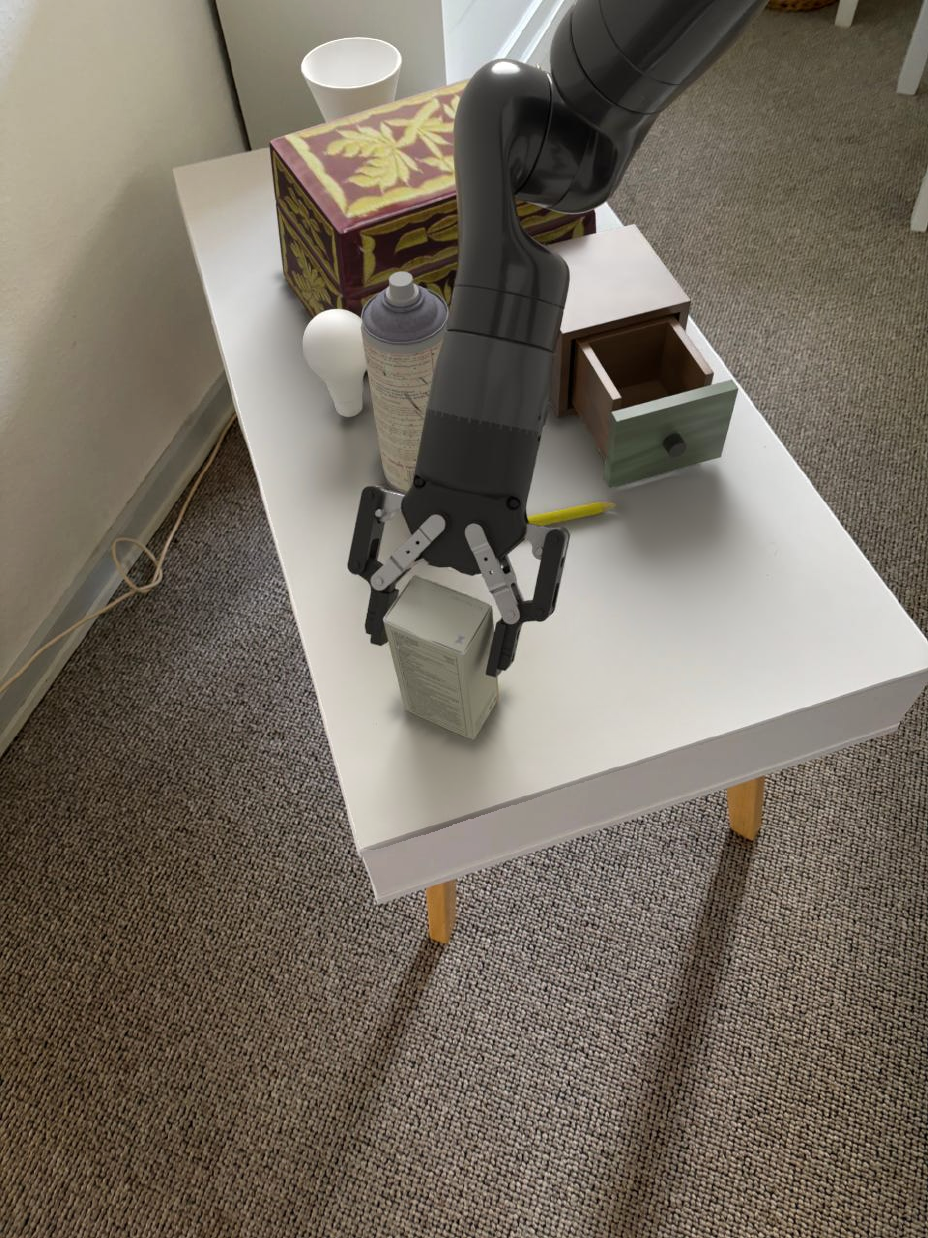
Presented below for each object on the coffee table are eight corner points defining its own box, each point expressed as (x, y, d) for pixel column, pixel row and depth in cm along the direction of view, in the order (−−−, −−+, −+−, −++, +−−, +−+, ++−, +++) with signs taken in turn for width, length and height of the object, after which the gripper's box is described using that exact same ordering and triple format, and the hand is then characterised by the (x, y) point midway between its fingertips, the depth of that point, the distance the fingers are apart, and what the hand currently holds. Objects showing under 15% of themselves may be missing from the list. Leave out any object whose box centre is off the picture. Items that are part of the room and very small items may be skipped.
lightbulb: (368, 382, 94) (353, 285, 84) (393, 422, 90) (380, 326, 81) (308, 403, 92) (286, 307, 83) (331, 445, 89) (311, 349, 80)
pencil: (429, 551, 82) (428, 543, 81) (426, 542, 82) (425, 534, 81) (618, 511, 83) (619, 504, 82) (615, 503, 84) (616, 495, 83)
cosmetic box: (500, 697, 74) (498, 604, 64) (472, 744, 72) (466, 656, 61) (427, 665, 76) (414, 570, 65) (398, 710, 73) (380, 619, 63)
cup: (315, 166, 115) (293, 45, 103) (402, 151, 116) (390, 30, 104) (329, 217, 109) (308, 95, 98) (421, 200, 110) (411, 78, 99)
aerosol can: (476, 471, 87) (467, 279, 70) (415, 511, 84) (392, 322, 68) (427, 430, 90) (408, 237, 73) (368, 467, 87) (334, 277, 71)
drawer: (727, 466, 84) (745, 398, 78) (614, 499, 83) (622, 432, 76) (669, 378, 91) (681, 308, 84) (562, 407, 89) (566, 338, 83)
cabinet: (675, 387, 92) (691, 300, 83) (557, 419, 90) (562, 333, 82) (624, 310, 98) (634, 223, 90) (513, 339, 96) (514, 252, 88)
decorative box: (353, 381, 94) (329, 243, 81) (282, 275, 103) (251, 138, 91) (599, 288, 100) (611, 147, 88) (510, 196, 110) (510, 58, 97)
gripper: (360, 389, 60) (316, 642, 64) (586, 437, 57) (527, 700, 61) (399, 396, 67) (357, 623, 71) (602, 438, 64) (548, 674, 68)
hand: (436, 658), depth 66 cm, fingers open, 7 cm apart
